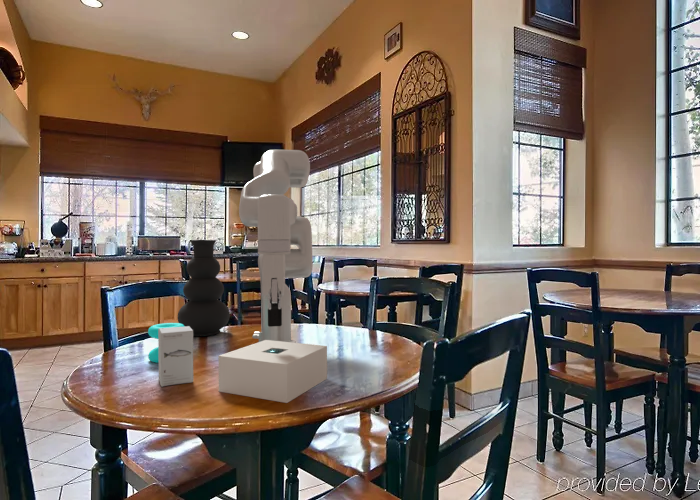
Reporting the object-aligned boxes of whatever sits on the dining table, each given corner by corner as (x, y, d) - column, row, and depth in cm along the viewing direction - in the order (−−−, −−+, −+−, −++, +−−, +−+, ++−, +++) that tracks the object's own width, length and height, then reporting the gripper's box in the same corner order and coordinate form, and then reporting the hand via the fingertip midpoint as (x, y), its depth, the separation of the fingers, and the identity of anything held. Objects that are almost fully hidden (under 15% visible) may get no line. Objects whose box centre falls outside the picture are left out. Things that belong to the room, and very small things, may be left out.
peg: (263, 384, 101) (262, 351, 101) (273, 379, 104) (272, 348, 104) (277, 386, 99) (277, 353, 99) (287, 381, 103) (287, 349, 103)
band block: (218, 391, 97) (218, 355, 97) (266, 370, 114) (265, 339, 114) (287, 402, 90) (286, 364, 90) (327, 378, 106) (326, 346, 106)
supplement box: (160, 387, 100) (160, 333, 100) (158, 379, 107) (157, 327, 107) (194, 382, 104) (193, 330, 104) (190, 374, 110) (189, 325, 110)
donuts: (191, 324, 126) (157, 329, 118) (192, 359, 126) (157, 366, 118) (175, 320, 132) (142, 325, 125) (176, 353, 133) (142, 359, 125)
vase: (192, 329, 171) (191, 240, 171) (237, 329, 169) (236, 240, 169) (167, 339, 153) (166, 240, 153) (218, 340, 151) (217, 239, 151)
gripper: (259, 247, 108) (259, 320, 109) (256, 248, 94) (257, 333, 94) (289, 246, 110) (290, 319, 110) (291, 248, 95) (292, 332, 95)
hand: (274, 325), depth 102 cm, fingers closed
